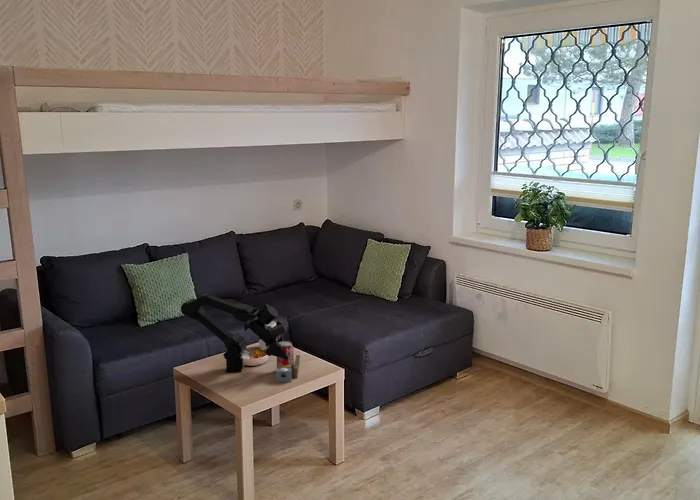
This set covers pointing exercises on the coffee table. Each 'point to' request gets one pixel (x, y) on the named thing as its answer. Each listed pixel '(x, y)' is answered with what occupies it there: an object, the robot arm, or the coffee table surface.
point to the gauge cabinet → (283, 375)
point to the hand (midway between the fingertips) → (288, 355)
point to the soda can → (288, 350)
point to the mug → (261, 343)
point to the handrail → (296, 366)
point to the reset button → (284, 367)
